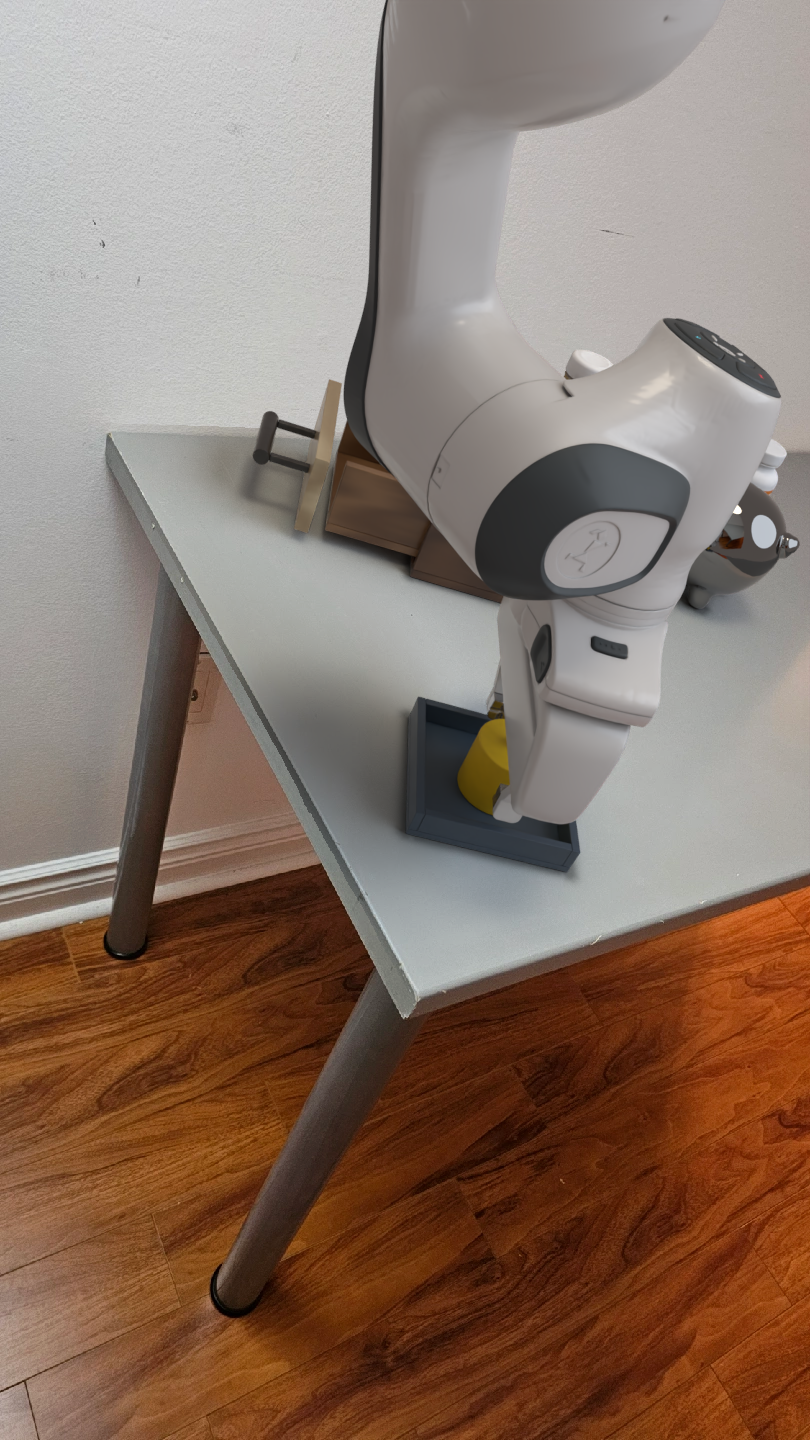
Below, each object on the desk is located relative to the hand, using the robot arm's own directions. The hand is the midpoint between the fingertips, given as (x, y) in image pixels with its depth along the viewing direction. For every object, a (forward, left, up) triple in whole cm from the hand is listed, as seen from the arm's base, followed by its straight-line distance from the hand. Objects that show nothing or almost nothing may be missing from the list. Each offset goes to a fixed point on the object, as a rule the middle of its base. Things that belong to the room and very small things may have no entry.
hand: (499, 761), depth 71 cm
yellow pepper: (0, 0, -2) cm, 3 cm away
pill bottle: (+28, +48, -3) cm, 56 cm away
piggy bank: (+22, +36, -3) cm, 42 cm away
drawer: (-11, +31, -2) cm, 33 cm away
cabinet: (+2, +31, -3) cm, 31 cm away
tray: (0, 0, -3) cm, 3 cm away
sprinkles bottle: (+8, +48, -3) cm, 49 cm away
